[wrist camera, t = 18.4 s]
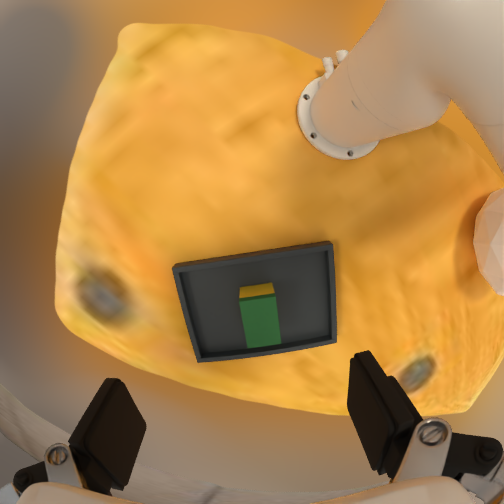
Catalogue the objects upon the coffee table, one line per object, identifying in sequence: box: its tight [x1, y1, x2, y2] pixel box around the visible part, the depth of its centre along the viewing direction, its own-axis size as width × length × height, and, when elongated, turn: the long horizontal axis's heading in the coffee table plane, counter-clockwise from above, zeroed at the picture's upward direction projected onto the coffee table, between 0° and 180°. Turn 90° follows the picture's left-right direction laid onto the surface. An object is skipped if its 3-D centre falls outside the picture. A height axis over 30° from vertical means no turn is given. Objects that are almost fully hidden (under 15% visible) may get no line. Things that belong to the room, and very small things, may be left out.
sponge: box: [239, 283, 281, 348], centre depth 36 cm, size 7×4×5 cm, turn 8°
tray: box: [172, 241, 337, 363], centre depth 38 cm, size 16×22×2 cm
